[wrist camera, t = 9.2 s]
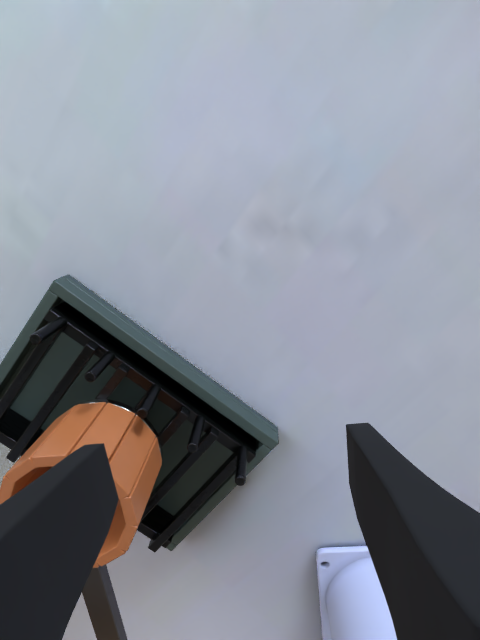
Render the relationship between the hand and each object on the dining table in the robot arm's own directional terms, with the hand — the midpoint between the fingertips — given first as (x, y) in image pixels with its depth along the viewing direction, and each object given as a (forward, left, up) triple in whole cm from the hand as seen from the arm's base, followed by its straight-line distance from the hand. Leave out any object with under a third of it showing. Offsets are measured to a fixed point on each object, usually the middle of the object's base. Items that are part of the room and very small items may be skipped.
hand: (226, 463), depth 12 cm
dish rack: (-4, +7, -10) cm, 13 cm away
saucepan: (-7, +7, -7) cm, 12 cm away
